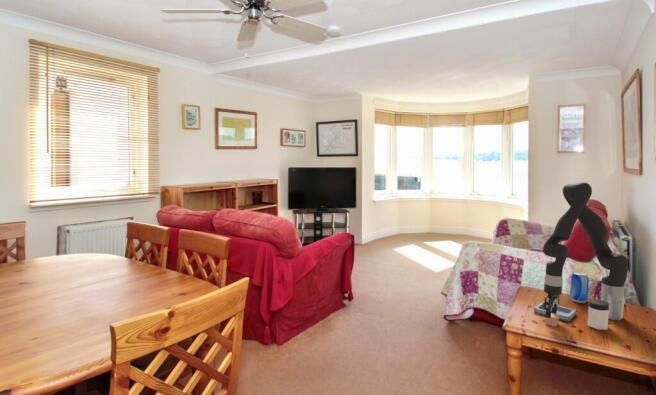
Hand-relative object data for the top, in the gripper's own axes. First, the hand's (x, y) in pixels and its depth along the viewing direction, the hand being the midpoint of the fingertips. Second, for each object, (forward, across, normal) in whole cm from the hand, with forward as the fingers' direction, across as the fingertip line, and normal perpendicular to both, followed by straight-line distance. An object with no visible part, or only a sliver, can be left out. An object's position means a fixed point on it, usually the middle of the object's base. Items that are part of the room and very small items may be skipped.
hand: (551, 315), depth 186 cm
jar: (+4, +13, -16) cm, 22 cm away
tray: (+4, +15, +3) cm, 16 cm away
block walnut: (+4, +15, +6) cm, 17 cm away
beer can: (+4, +45, -1) cm, 45 cm away
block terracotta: (+4, 0, 0) cm, 4 cm away
